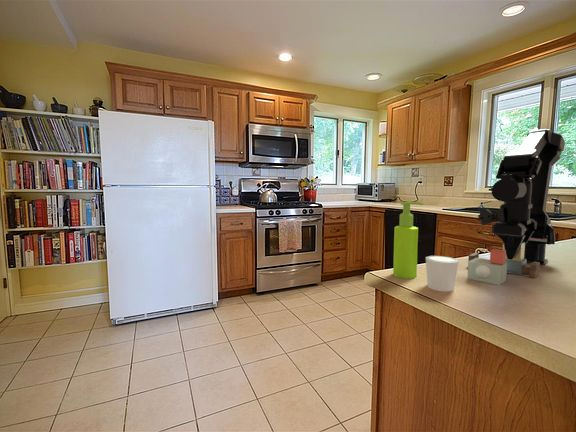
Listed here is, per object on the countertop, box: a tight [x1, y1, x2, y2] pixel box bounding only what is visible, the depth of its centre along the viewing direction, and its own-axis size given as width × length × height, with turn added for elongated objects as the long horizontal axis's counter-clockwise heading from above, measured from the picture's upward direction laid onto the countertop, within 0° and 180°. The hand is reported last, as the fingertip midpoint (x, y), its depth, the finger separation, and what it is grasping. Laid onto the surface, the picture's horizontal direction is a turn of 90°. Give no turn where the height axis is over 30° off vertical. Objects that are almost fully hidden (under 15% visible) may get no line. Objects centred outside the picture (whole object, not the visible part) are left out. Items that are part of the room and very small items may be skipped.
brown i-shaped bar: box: [467, 252, 541, 279], centre depth 81 cm, size 15×5×3 cm, turn 40°
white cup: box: [425, 255, 459, 293], centre depth 68 cm, size 7×7×7 cm
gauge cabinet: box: [467, 257, 508, 286], centre depth 74 cm, size 6×7×4 cm
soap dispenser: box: [392, 201, 424, 279], centre depth 77 cm, size 6×7×20 cm
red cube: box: [489, 248, 506, 264], centre depth 72 cm, size 3×3×3 cm
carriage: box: [502, 242, 528, 275], centre depth 79 cm, size 5×5×8 cm
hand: (513, 257), depth 79 cm, fingers open, 7 cm apart
